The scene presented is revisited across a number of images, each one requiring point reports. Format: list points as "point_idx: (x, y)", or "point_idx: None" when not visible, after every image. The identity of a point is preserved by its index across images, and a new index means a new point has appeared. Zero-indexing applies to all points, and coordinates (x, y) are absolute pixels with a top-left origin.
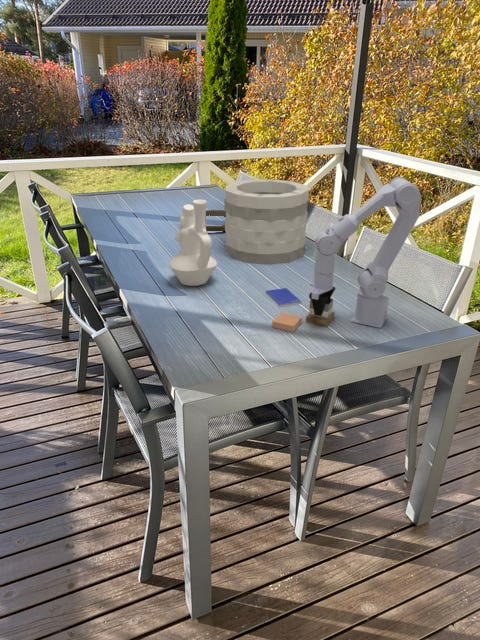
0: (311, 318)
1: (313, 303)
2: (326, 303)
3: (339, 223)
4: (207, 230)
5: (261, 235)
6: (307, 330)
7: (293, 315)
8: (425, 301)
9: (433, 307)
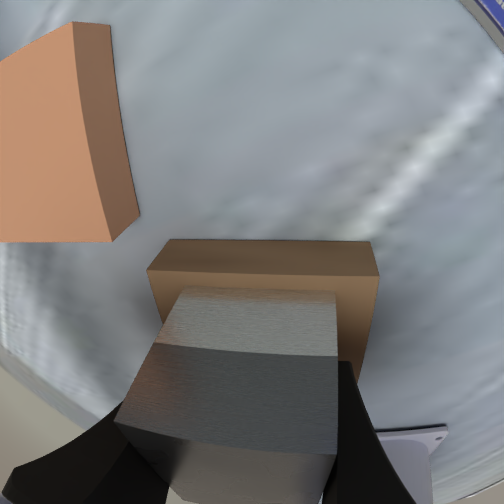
0: (162, 307)
1: (90, 439)
2: (190, 496)
3: None
4: None
5: None
6: (88, 285)
7: (84, 158)
8: None
9: (486, 487)
